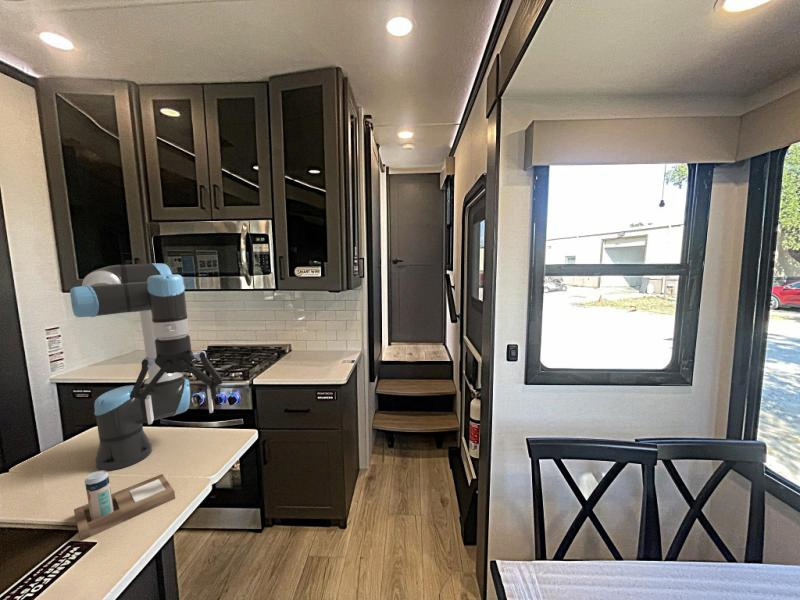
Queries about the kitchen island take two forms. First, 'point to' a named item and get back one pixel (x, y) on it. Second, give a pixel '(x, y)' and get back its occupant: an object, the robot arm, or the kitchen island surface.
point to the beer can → (99, 494)
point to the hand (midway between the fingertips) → (182, 416)
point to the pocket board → (126, 505)
